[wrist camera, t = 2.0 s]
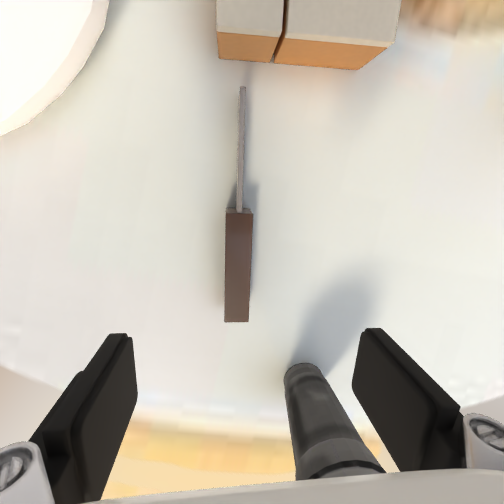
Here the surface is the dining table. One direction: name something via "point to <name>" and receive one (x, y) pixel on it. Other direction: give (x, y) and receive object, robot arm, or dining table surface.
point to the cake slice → (248, 28)
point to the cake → (336, 32)
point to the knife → (238, 239)
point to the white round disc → (43, 52)
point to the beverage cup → (322, 429)
